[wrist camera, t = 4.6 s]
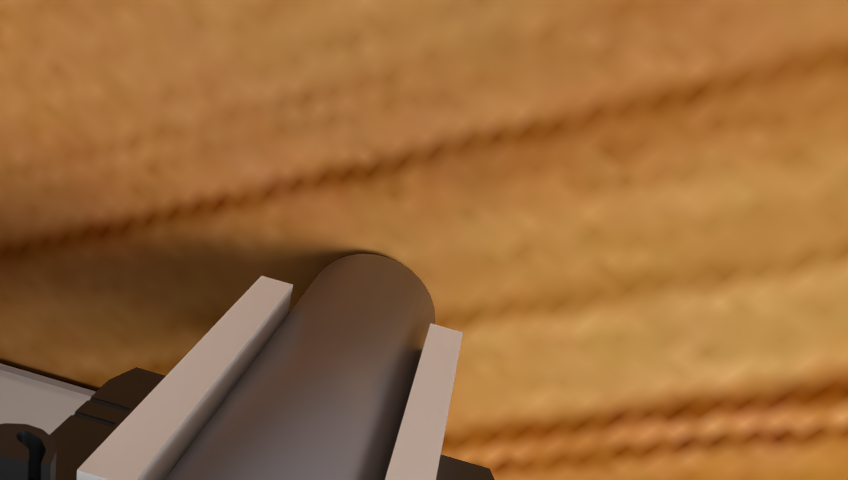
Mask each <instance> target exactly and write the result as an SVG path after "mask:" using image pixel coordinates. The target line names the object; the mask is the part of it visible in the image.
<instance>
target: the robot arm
mask: <svg viewBox="0 0 848 480" xmlns="http://www.w3.org/2000/svg"><path fill="white" fill-rule="evenodd" d="M292 289H293V284H289V283H286V282H282V281H279V280H275V279H272V278H268V277H265V276H261V277H260V278H259V279H258V280H257V281H256V282H255V283H254V284H253V285H252V286H251V287H250V288H249V289H248V290H247V291H246V292H245V293H244V295H243V296H242V297H241V298H240V299H239V300H238V301H237V302H236V303H235V304H234V305H233V306H232V307H231V308H230V309H229V310H228V311H227V312H226V313H225V315H224V316H223V317H222V318H221V319H220V320H219V321H218V322H217V323H216V324H215V325H214V326H213V327H212V328H211V329H210V330H209V331H208V332H207V333H206V335H205V336H204V337H203V338H202V339H201V340H200V341H199V342H198V343H197V344H196V345H195V346H194V347H193V348H192V349H191V350H190V351H189V352H188V353H187V355H186V356H185V357H184V358H183V359H182V360H181V361H180V362H179V363H178V364H177V365H176V366H175V367H174V368H173V369H172V370H171V371H170V372H169V373H168V375H167V376H164V375H161V374H157V373H154V372H150V371H147V370H143V369H140V368H137V367H136V368H134V369H132V370H130V371H127V372H125V373H123V374H121V375H119V376H116V377H114V378H112V379H110V380H109V381H108V382H106V383H105V384H104V385H103V386H102V387H101V388H100V389H99V390H98V391H97V392H96V393H94V394H93V395H92V396H91V398H90V400H89V401H88V400H87V401H86V402H85V403H84V404H82V405H81V406H80V407H79V408H78V409H77V410H76V411H75V414H74V415H70V416H69V417H68V418H67V419H66V420H65V421H64V422H63V423H62V424H61V425H60V426H59V427H57V428H56V429H55V430H54V431H53V432H52V433H51V434H50V435H49V434H48V433H46V432H45V431H44V430H43V429H40V428H37V427H34V426H31V425H28V424H15V423H4V424H0V480H165V479H166V477H167V476H168V475H169V473H170V472H171V470H172V469H173V468H174V466H175V465H176V464H177V462H178V461H179V460H180V458H181V457H182V456H183V454H184V453H185V452H186V450H187V449H188V448H189V446H190V445H191V444H192V442H193V441H194V440H195V438H196V437H197V436H198V434H199V433H200V432H201V430H202V429H203V428H204V426H205V425H206V424H207V422H208V421H209V420H210V418H211V417H212V416H213V414H214V413H215V412H216V410H217V409H218V408H219V406H220V405H221V404H222V402H223V401H224V400H225V398H226V397H227V396H228V394H229V393H230V392H231V390H232V389H233V388H234V386H235V385H236V384H237V382H238V381H239V380H240V378H241V377H242V376H243V374H244V373H245V372H246V370H247V369H248V368H249V366H250V365H251V364H252V362H253V361H254V360H255V358H256V357H257V356H258V354H259V353H260V352H261V350H262V349H263V348H264V346H265V345H266V344H267V342H268V341H269V340H270V338H271V337H272V336H273V334H274V333H275V332H276V330H277V329H278V328H279V326H280V325H281V324H282V322H283V321H284V320H285V318H286V317H287V316H288V311H289V306H290V300H291V294H292ZM462 335H463V332H460V331H456V330H452V329H449V328H445V327H442V326H438V325H435V324H431V323H430V326H429V330H428V333H427V337H426V340H425V344H424V347H423V350H422V354H421V357H420V361H419V364H418V368H417V371H416V375H415V378H414V381H413V385H412V388H411V392H410V395H409V399H408V402H407V406H406V409H405V412H404V416H403V419H402V423H401V426H400V430H399V433H398V436H397V440H396V443H395V447H394V450H393V454H392V457H391V461H390V464H389V467H388V471H387V474H386V478H385V480H494V478H493V475H492V473H491V471H490V469H488V468H485V467H482V466H478V465H475V464H471V463H468V462H464V461H461V460H458V459H454V458H451V457H447V456H444V455H441V449H442V444H443V438H444V433H445V427H446V422H447V417H448V411H449V406H450V400H451V395H452V389H453V384H454V379H455V373H456V368H457V362H458V357H459V352H460V346H461V341H462Z"/></svg>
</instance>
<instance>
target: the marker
mask: <svg viewBox="0 0 848 480" xmlns="http://www.w3.org/2000/svg"><path fill="white" fill-rule="evenodd" d="M430 323H431V324H435V311H434V306H433V302H432V299H431V297H430V294H429V292H428V290H427V289H426V287H425V285H424V284H423V283H422V281H421V280H420V279H419V278H418V277H417V276H416V275H415V274H414V273H413V272H412V271H411V270H410V269H408V268H407V267H405V266H404V265H402V264H401V263H399V262H397V261H395V260H393V259H390V258H387V257H384V256H380V255H375V254H355V255H349V256H346V257H343V258H340V259H338V260H336V261H334V262H332V263H331V264H329V265H328V266H327V267H325V268H324V269H323V270H322V271H321V272H320V273H319V274H318V276H317V277H316V278H315V280H314V281H313V282H312V284H311V285H310V286H309V288H308V289H307V290H306V292H305V293H304V294H303V296H302V297H301V298H300V300H299V301H298V302H297V304H296V305H295V306H294V308H293V309H292V310H291V312H290V313H289V314H288V316H287V317H286V318H285V320H284V321H283V322H282V324H281V325H280V326H279V328H278V329H277V330H276V332H275V333H274V334H273V336H272V337H271V338H270V340H269V341H268V342H267V344H266V345H265V346H264V348H263V349H262V350H261V352H260V353H259V354H258V356H257V357H256V358H255V360H254V361H253V362H252V364H251V365H250V366H249V368H248V369H247V370H246V372H245V373H244V374H243V376H242V377H241V378H240V380H239V381H238V382H237V384H236V385H235V386H234V388H233V389H232V390H231V392H230V393H229V394H228V396H227V397H226V398H225V400H224V401H223V402H222V404H221V405H220V406H219V408H218V409H217V410H216V412H215V413H214V414H213V416H212V417H211V418H210V420H209V421H208V422H207V424H206V425H205V426H204V428H203V429H202V430H201V432H200V433H199V434H198V436H197V437H196V438H195V440H194V441H193V442H192V444H191V445H190V446H189V448H188V449H187V450H186V452H185V453H184V454H183V456H182V457H181V458H180V460H179V461H178V462H177V464H176V465H175V466H174V468H173V469H172V470H171V472H170V473H169V475H168V476H167V477H166V479H165V480H385V478H386V474H387V471H388V467H389V464H390V461H391V457H392V454H393V450H394V447H395V443H396V440H397V436H398V433H399V430H400V426H401V423H402V419H403V416H404V412H405V409H406V406H407V402H408V399H409V395H410V392H411V388H412V385H413V381H414V378H415V375H416V371H417V368H418V364H419V361H420V357H421V354H422V350H423V347H424V344H425V340H426V337H427V333H428V330H429V326H430Z"/></svg>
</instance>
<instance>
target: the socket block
mask: <svg viewBox="0 0 848 480" xmlns="http://www.w3.org/2000/svg"><path fill="white" fill-rule="evenodd" d="M94 393H96V391H92V390H89V389H85V388H82V387H79V386H75V385H72V384H68V383H65V382H62V381H58V380H55V379H51V378H48V377H45V376H41V375H38V374H35V373H31V372H28V371H24V370H21V369H18V368H14V367H11V366H7V365H4V364H1V363H0V424H4V423H15V424H28V425H31V426H34V427H37V428H40V429H43V430H44V431H45V432H46V433H48V434H49V435H50V434H51V433H52V432H53V431H54V430H55V429H56V428H57V427H59V426H60V425H61V424H62V423H63V422H64V421H65V420H66V419H67V418H68V417H69V416H70V415H74V414H75V411H76V410H77V409H78V408H79V407H80V406H81V405H82V404H84V403H85V402H86V401H87V400H88V401H89V400H90V398H91V396H92V395H93V394H94Z"/></svg>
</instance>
